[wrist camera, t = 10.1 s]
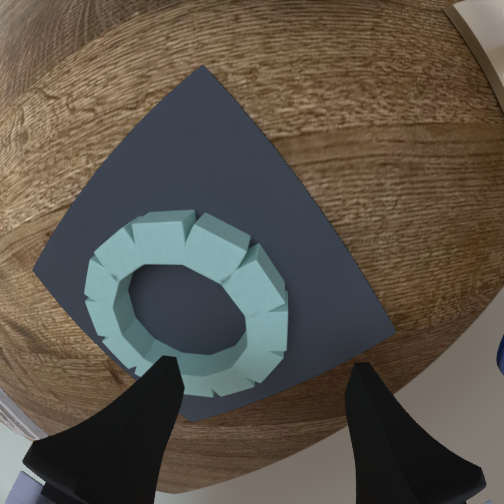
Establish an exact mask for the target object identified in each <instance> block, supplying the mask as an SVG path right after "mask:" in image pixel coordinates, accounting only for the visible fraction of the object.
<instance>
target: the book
mask: <svg viewBox="0 0 504 504" xmlns="http://www.w3.org/2000/svg"><path fill="white" fill-rule="evenodd" d="M0 419H1V420H2V421H3V422H4V423H5V424H6V425H7V426H8V427H9V428H10V429H11V430H12V431H13V432H15V433H16V434H18V435H22V436H25V437H28V438H31V439H35V440H40V439H43V438H46V437H48V435H47V434H46V433H45V432H44V431H43V430H42V429H40V428H39V427H38V426H37V425H36V424H35V423H34V422H33V421H32V420H31V419H30V418H29V417H28V416H27V415H26V414H25V413H24V412H23V411H22V410H21V409H20V408H19V407H18V406H17V405H16V404H15V403H14V402H13V401H12V400H11V399H10V398H9V397H8V396H7V394H6V393H5V392H4V391H3V390H2V389H1V388H0Z"/></svg>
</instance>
